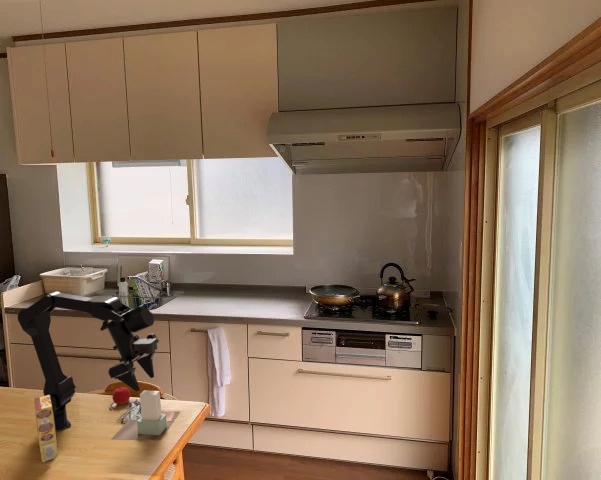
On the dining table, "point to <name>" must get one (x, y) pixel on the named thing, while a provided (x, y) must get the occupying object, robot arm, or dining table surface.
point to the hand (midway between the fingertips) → (145, 384)
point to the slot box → (152, 426)
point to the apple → (120, 397)
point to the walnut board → (131, 433)
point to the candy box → (46, 428)
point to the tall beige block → (150, 405)
